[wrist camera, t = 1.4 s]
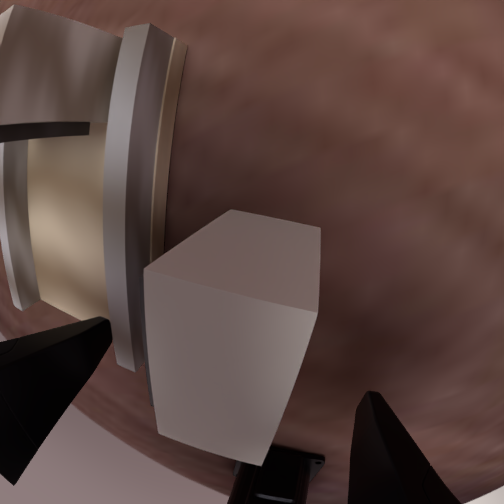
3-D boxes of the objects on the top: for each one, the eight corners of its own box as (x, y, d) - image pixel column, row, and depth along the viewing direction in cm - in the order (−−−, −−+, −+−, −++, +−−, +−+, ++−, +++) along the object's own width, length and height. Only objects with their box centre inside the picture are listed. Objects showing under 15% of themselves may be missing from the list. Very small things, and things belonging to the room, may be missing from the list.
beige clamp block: (163, 340, 16) (84, 438, 9) (41, 287, 18) (-34, 337, 11) (187, 45, 11) (57, -24, 3) (40, 73, 12) (-59, 71, 5)
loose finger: (320, 227, 12) (318, 312, 6) (287, 354, 15) (261, 466, 8) (218, 206, 13) (123, 262, 7) (205, 332, 16) (144, 427, 9)
